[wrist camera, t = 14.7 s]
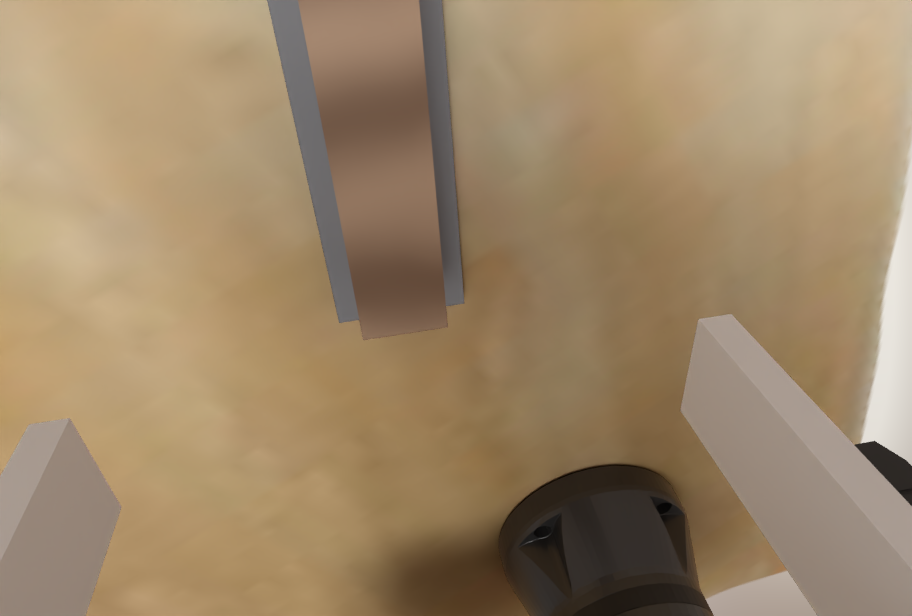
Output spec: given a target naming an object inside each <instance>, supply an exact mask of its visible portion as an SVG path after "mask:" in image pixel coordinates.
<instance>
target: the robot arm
mask: <svg viewBox="0 0 912 616" xmlns="http://www.w3.org/2000/svg"><path fill="white" fill-rule="evenodd" d="M680 411H681V412H682V414H683V415H684V417H685V418H686V420H687V421H688V423H689V424H690V426H691V427H692V429H693V430H694V432H695V433H696V435H697V436H698V438H699V439H700V441H701V442H702V444H703V445H704V447H705V448H706V450H707V451H708V453H709V454H710V456H711V457H712V459H713V460H714V462H715V463H716V465H717V466H718V468H719V469H720V471H721V472H722V474H723V475H724V477H725V478H726V479H727V481H728V482H729V484H730V485H731V487H732V488H733V490H734V491H735V493H736V494H737V496H738V497H739V499H740V500H741V502H742V503H743V505H744V506H745V508H746V509H747V511H748V512H749V514H750V515H751V517H752V518H753V520H754V521H755V523H756V524H757V526H758V527H759V529H760V530H761V532H762V533H763V535H764V536H765V538H766V539H767V541H768V542H769V544H770V545H771V547H772V548H773V550H774V551H775V553H776V554H777V556H778V557H779V559H780V560H781V562H782V563H783V565H784V566H785V568H786V569H787V571H788V572H789V574H790V575H791V577H792V578H793V580H794V581H795V583H796V584H797V586H798V587H799V589H800V590H801V592H802V593H803V594H804V596H805V597H806V599H807V600H808V602H809V603H810V605H811V606H812V608H813V609H814V611H815V612H816V614H817V615H818V616H912V466H911V465H910V464H909V463H908V462H907V461H906V460H905V459H903V458H901V457H899V456H898V455H896V454H895V453H893V452H892V451H890V450H888V449H887V448H885V447H883V446H882V445H880V444H879V443H877V442H875V441H873V442H867V443H861V444H856V445H854V444H853V443H852V442H851V441H850V440H849V439H848V438H847V437H846V436H845V435H844V434H843V433H842V431H841V430H840V429H839V428H838V427H837V426H836V425H835V424H834V423H833V422H832V421H831V420H830V419H829V418H828V417H827V415H826V414H825V413H824V412H823V411H822V410H821V409H820V408H819V407H818V406H817V405H816V404H815V403H814V402H813V401H812V400H811V398H810V397H809V396H808V395H807V394H806V393H805V392H804V391H803V390H802V389H801V388H800V387H799V386H798V385H797V384H796V382H795V381H794V380H793V379H792V378H791V377H790V376H789V375H788V374H787V373H786V372H785V371H784V370H783V369H782V368H781V366H780V365H779V364H778V363H777V362H776V361H775V360H774V359H773V358H772V357H771V356H770V355H769V354H768V353H767V352H766V351H765V349H764V348H763V347H762V346H761V345H760V344H759V343H758V342H757V341H756V340H755V339H754V338H753V337H752V336H751V335H750V333H749V332H748V331H747V330H746V329H745V328H744V327H743V326H742V325H741V324H740V323H739V322H738V321H737V320H736V319H735V317H734V316H733V315H732V314H728V315H721V316H715V317H709V318H702V319H698V323H697V328H696V333H695V339H694V344H693V349H692V354H691V359H690V364H689V369H688V374H687V379H686V384H685V389H684V394H683V399H682V404H681V409H680ZM120 510H121V505H120V504H119V502H118V500H117V498H116V497H115V495H114V493H113V491H112V490H111V488H110V486H109V485H108V483H107V481H106V479H105V478H104V476H103V474H102V473H101V471H100V469H99V467H98V466H97V464H96V462H95V461H94V459H93V457H92V455H91V454H90V452H89V450H88V448H87V447H86V445H85V443H84V442H83V440H82V438H81V436H80V435H79V433H78V431H77V430H76V428H75V426H74V424H73V423H72V421H71V419H70V418H67V419H61V420H54V421H48V422H42V423H35V424H29V425H28V427H27V429H26V431H25V432H24V434H23V436H22V438H21V440H20V441H19V443H18V445H17V447H16V449H15V450H14V452H13V454H12V456H11V458H10V459H9V461H8V463H7V465H6V467H5V468H4V470H3V472H2V474H1V476H0V616H86V613H87V610H88V607H89V604H90V601H91V598H92V595H93V592H94V589H95V586H96V583H97V580H98V576H99V573H100V570H101V567H102V564H103V561H104V558H105V555H106V552H107V549H108V546H109V543H110V540H111V537H112V534H113V531H114V528H115V525H116V522H117V519H118V516H119V513H120ZM499 552H500V556H501V560H502V564H503V568H504V572H505V575H506V578H507V580H508V582H509V584H510V586H511V587H512V589H513V590H514V592H515V593H516V595H517V596H518V598H519V599H520V601H521V603H522V604H523V606H524V607H525V609H526V610H527V612H528V613H529V615H530V616H714V615H713V613H712V611H711V609H710V607H709V606H708V604H707V602H706V600H705V598H704V596H703V594H702V592H701V589H700V586H699V581H698V575H697V570H696V564H695V558H694V553H693V547H692V542H691V536H690V530H689V525H688V519H687V516H686V513H685V510H684V508H683V506H682V504H681V503H680V501H679V499H678V497H677V495H676V494H675V492H674V490H673V488H672V487H671V485H670V484H669V483H668V482H667V481H666V480H665V479H664V478H662V477H661V476H660V475H658V474H656V473H654V472H652V471H649V470H646V469H642V468H637V467H630V466H607V467H599V468H593V469H588V470H584V471H580V472H577V473H574V474H571V475H568V476H565V477H563V478H560V479H558V480H556V481H554V482H552V483H550V484H548V485H546V486H544V487H543V488H541V489H539V490H538V491H536V492H535V493H533V494H532V495H531V496H529V497H528V498H527V499H525V500H524V501H523V502H522V503H521V504H520V505H519V506H518V507H517V508H516V509H515V510H514V511H513V512H512V513H511V515H510V516H509V517H508V519H507V520H506V522H505V524H504V526H503V528H502V530H501V533H500V537H499Z"/></svg>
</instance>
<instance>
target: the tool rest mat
mask: <svg viewBox="0 0 912 616" xmlns="http://www.w3.org/2000/svg"><path fill="white" fill-rule="evenodd" d="M267 1H268V6H269V10H270V15H271V19H272V24H273V28H274V33H275V37H276V42H277V46H278V50H279V55H280V59H281V64H282V68H283V73H284V77H285V82H286V86H287V91H288V95H289V100H290V104H291V109H292V113H293V118H294V122H295V127H296V131H297V136H298V140H299V145H300V149H301V153H302V158H303V162H304V167H305V171H306V176H307V180H308V185H309V189H310V194H311V198H312V203H313V207H314V212H315V216H316V221H317V225H318V230H319V234H320V239H321V243H322V248H323V252H324V256H325V261H326V265H327V270H328V274H329V279H330V283H331V288H332V292H333V297H334V301H335V306H336V310H337V315H338V319H339V323H342V322H348V321H354V320H359V316H358V311H357V305H356V300H355V295H354V290H353V284H352V279H351V274H350V269H349V264H348V258H347V253H346V248H345V243H344V238H343V232H342V227H341V222H340V217H339V212H338V206H337V201H336V196H335V191H334V185H333V180H332V175H331V170H330V165H329V159H328V154H327V149H326V144H325V139H324V133H323V128H322V123H321V118H320V112H319V107H318V102H317V97H316V92H315V86H314V81H313V76H312V71H311V66H310V60H309V55H308V50H307V45H306V40H305V34H304V29H303V24H302V19H301V13H300V8H299V3H298V0H267ZM419 6H420V17H421V29H422V40H423V51H424V63H425V74H426V85H427V97H428V108H429V119H430V131H431V142H432V153H433V165H434V176H435V187H436V198H437V210H438V221H439V232H440V244H441V255H442V266H443V278H444V289H445V300H446V306H451V305H458V304H464V294H463V280H462V266H461V253H460V239H459V226H458V212H457V199H456V185H455V172H454V158H453V144H452V131H451V117H450V104H449V90H448V77H447V63H446V50H445V36H444V22H443V9H442V0H419Z"/></svg>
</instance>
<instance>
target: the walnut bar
mask: <svg viewBox="0 0 912 616" xmlns="http://www.w3.org/2000/svg"><path fill="white" fill-rule="evenodd" d="M298 3H299V8H300V13H301V19H302V24H303V29H304V34H305V40H306V45H307V50H308V55H309V60H310V66H311V71H312V76H313V81H314V86H315V92H316V97H317V102H318V107H319V112H320V118H321V123H322V128H323V133H324V139H325V144H326V149H327V154H328V159H329V165H330V170H331V175H332V180H333V185H334V191H335V196H336V201H337V206H338V212H339V217H340V222H341V227H342V232H343V238H344V243H345V248H346V253H347V258H348V264H349V269H350V274H351V279H352V284H353V290H354V295H355V300H356V305H357V311H358V316H359V321H360V326H361V331H362V337H363V340H368V339H375V338H381V337H388V336H394V335H401V334H407V333H414V332H420V331H427V330H433V329H440V328H446V327H448V323H447V312H446V300H445V289H444V278H443V266H442V255H441V244H440V232H439V221H438V210H437V198H436V187H435V176H434V165H433V153H432V142H431V131H430V119H429V108H428V97H427V85H426V74H425V63H424V51H423V40H422V29H421V17H420V6H419V0H298Z"/></svg>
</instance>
